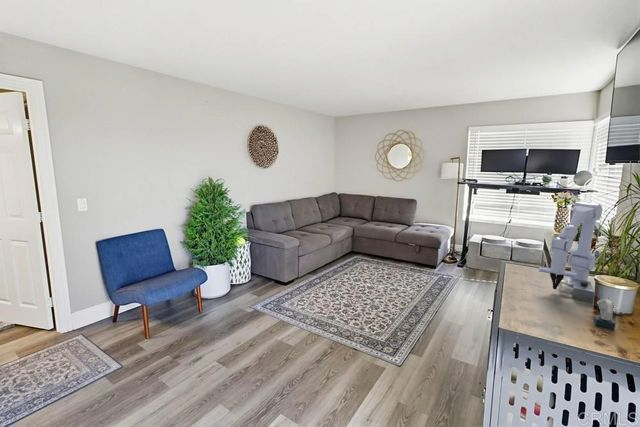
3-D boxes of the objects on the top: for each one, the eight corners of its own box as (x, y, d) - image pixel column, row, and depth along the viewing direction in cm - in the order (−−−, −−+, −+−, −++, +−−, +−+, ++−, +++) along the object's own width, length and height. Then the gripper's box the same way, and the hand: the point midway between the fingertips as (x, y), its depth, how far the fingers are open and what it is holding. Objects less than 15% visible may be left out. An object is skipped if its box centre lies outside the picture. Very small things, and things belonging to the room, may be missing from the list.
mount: (569, 288, 160) (571, 275, 159) (588, 292, 156) (590, 278, 155) (572, 298, 148) (574, 284, 147) (592, 303, 144) (595, 288, 143)
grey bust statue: (610, 323, 126) (615, 298, 124) (615, 333, 119) (620, 306, 117) (592, 319, 129) (597, 294, 127) (595, 328, 122) (600, 302, 120)
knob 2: (588, 291, 154) (589, 284, 154) (589, 293, 151) (590, 286, 151) (557, 285, 161) (558, 278, 160) (558, 287, 158) (559, 280, 157)
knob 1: (590, 296, 149) (591, 288, 148) (591, 298, 146) (592, 291, 145) (558, 289, 155) (559, 282, 155) (559, 292, 152) (560, 285, 152)
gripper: (540, 261, 153) (536, 287, 155) (578, 267, 145) (574, 294, 147) (540, 257, 159) (536, 282, 161) (577, 263, 151) (572, 289, 153)
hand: (554, 288), depth 155 cm, fingers closed
